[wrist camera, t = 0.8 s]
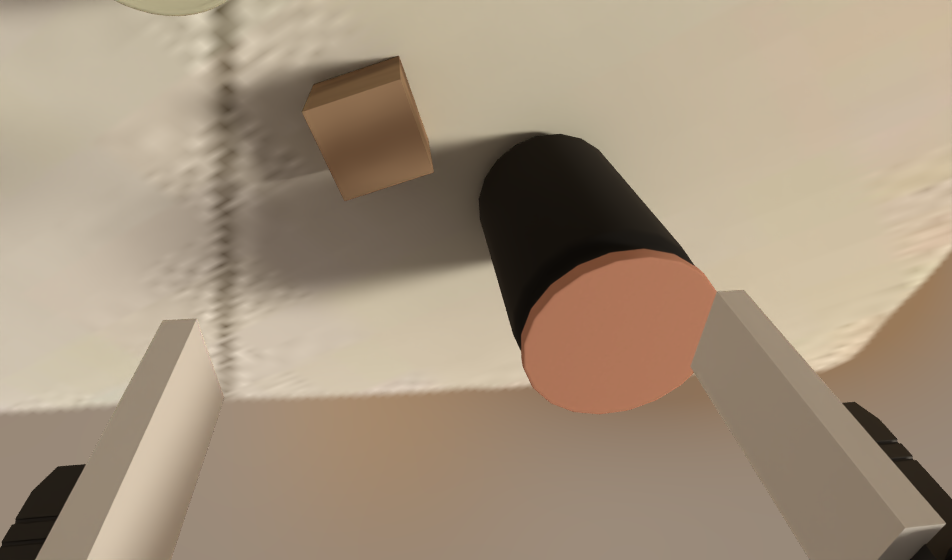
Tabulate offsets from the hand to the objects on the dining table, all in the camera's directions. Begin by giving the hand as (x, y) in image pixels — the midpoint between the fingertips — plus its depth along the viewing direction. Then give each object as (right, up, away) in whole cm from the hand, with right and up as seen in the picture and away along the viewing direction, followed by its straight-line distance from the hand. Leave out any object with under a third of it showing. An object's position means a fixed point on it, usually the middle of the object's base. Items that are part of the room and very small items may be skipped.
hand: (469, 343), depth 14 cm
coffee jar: (+5, +8, +29) cm, 31 cm away
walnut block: (-7, +13, +24) cm, 28 cm away
